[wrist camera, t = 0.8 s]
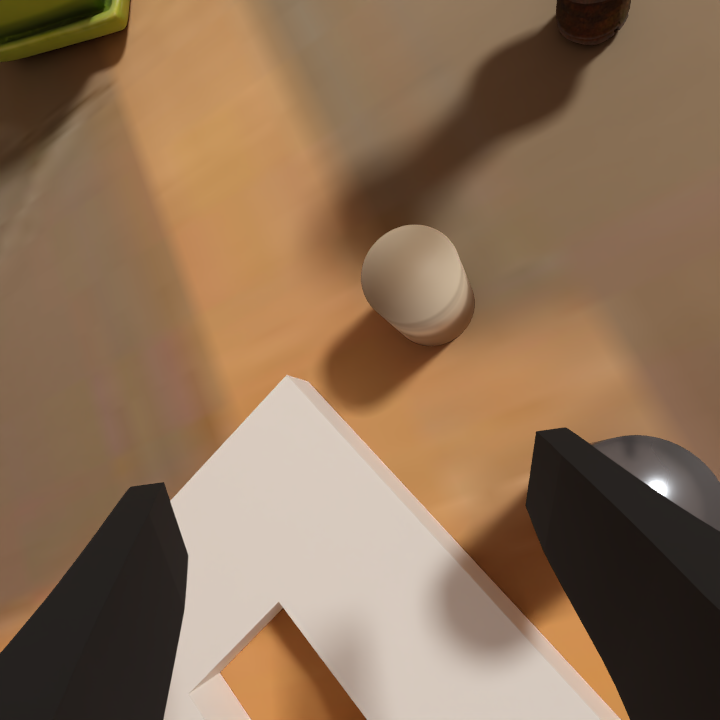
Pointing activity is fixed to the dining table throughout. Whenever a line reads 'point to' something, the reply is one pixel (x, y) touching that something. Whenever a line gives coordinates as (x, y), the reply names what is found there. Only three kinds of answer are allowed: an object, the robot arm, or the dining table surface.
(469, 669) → the hole plate
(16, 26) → the flower pot
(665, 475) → the long pin
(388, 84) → the dining table surface
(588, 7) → the bolt
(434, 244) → the short pin
